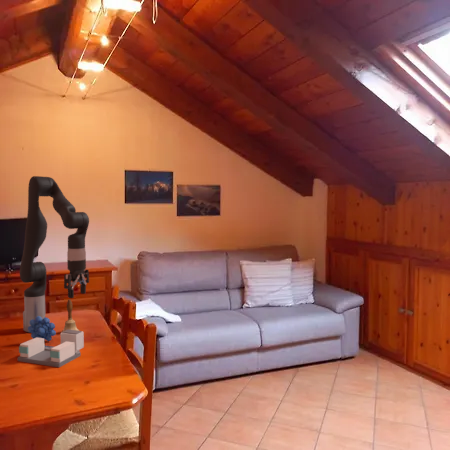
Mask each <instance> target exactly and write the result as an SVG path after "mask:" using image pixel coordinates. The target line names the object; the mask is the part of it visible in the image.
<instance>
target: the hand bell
mask: <svg viewBox="0 0 450 450" xmlns="http://www.w3.org/2000/svg"><path fill="white" fill-rule="evenodd" d="M66 311H67V320H65V323H64V328H63V330H61V332H60V334H61V333H62V332H63V331H66V330H68V329H69V330H77V331H80V329H78V328H77V325H76V321H75V320H74V319H73V314H72V312H73V302H72V299H71V298H69V299H67V302H66Z"/></svg>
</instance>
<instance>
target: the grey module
mask: <svg viewBox="0 0 450 450" xmlns="http://www.w3.org/2000/svg"><path fill="white" fill-rule="evenodd" d="M62 331H63V330H62ZM62 331H61V332H62ZM61 332H60V344H62V343H64V342H66V341H67V342H75V350H80V351H81V349H84V347H85V340H84V339H85V337H84V335H85V334H84V331H82V330H79V331H77V330H69V329H68V330H66V331H63V332H62V333H61Z"/></svg>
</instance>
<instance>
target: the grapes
mask: <svg viewBox="0 0 450 450" xmlns="http://www.w3.org/2000/svg"><path fill="white" fill-rule="evenodd" d="M35 320H36V321H35ZM35 320H33V319H32V320H30V322H29V323H30V325H31V326H29V327H28V331H29V332H31V334H30V337H31V338H32V339H34V338H36V337H37V338H44V342H45V341H47V342H50V341H52V340H53V337H55V336H56V333H57V332H56V330H55V329H56V324H55V323H54V322H51V320H50V318H49V317H46V316H45V318H43V319H42V317H41V316H37V317H36V318H35ZM29 332H28V333H29Z"/></svg>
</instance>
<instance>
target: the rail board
mask: <svg viewBox="0 0 450 450" xmlns="http://www.w3.org/2000/svg"><path fill="white" fill-rule="evenodd" d="M18 353H19V354H20V355H19V356H17V362H23V363H28V364H35V365H43V366H48V367H56V368H61V367H63V366H64V365H66V364H69V363H70V362H71V361H74V360H76V359H77V358H79V357H81V349H80V350H75V342H67V341H66V342H64V343H62V344H61V343H59V344H58V345H56V346H52V345H47V344H46V345H45V341H44V338H37V337H36V338H34V339H33V338H32V339H29V340H27V341H24V342H22V343H20V344H19V346H18Z"/></svg>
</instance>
